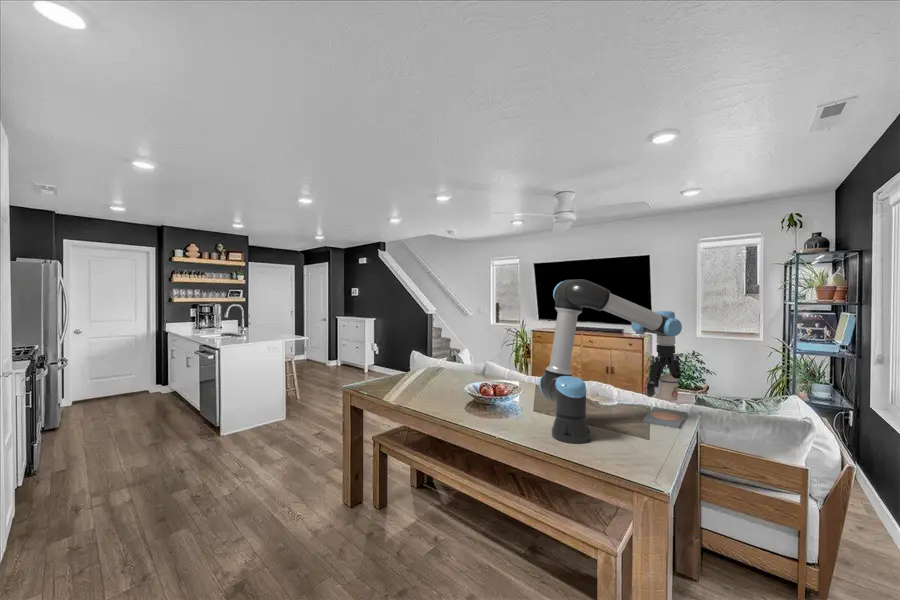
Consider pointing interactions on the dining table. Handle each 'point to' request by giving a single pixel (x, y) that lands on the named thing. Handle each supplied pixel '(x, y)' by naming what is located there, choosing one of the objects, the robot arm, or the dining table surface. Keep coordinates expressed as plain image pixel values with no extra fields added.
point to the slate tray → (665, 417)
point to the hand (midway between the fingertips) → (665, 392)
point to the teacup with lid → (668, 388)
